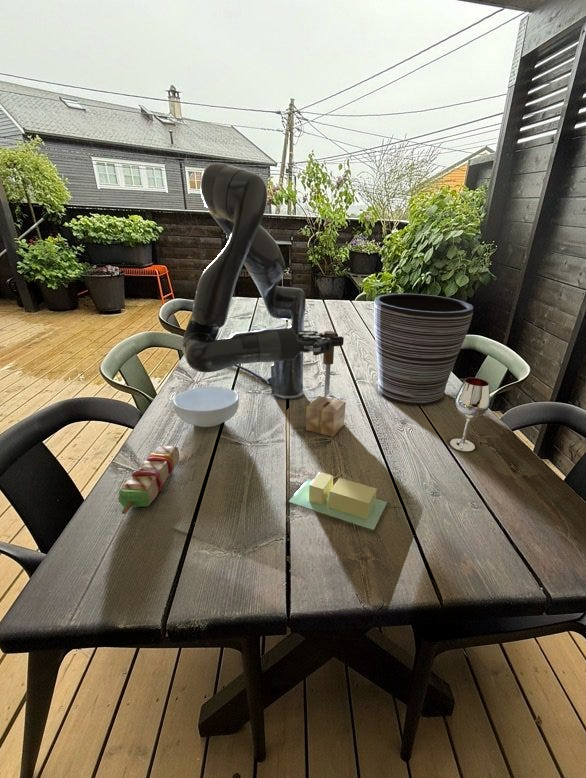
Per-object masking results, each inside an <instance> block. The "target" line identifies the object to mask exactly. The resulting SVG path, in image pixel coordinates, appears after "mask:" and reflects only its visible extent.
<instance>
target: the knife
mask: <svg viewBox="0 0 586 778" xmlns="http://www.w3.org/2000/svg"><path fill="white" fill-rule="evenodd" d="M335 333H336V332H335V331H332V330H325V331H324V332H323V335H324V337H335ZM322 355H323V356H322V357H323V358H322V363H323V365H325V371H324V394H323V395H324V396H323V397H326V398H327V396H329V394H330V386H331V385H330V384H331V365H333V364H334V357H335V346H334V347H331V351H328V352H325V353H322Z"/></svg>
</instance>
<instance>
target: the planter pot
mask: <svg viewBox="0 0 586 778" xmlns="http://www.w3.org/2000/svg"><path fill="white" fill-rule="evenodd" d="M474 309H475V308H474V306H473V305H472V304H471V303H469V302H466V301H464V300H459V299H456V298H451V297H446V296H439V295H431V294H421V293H386V294H381V295H378V296H376V297H375V298H374V301H373V328H374V329H373V330H374V341H375V352H376V362H377V374H378V375H377V376H378V377H377V379H378V380H377V392H378V393H379V395H380V396H382V397H383V398H385V399H387V400H389V401H392V402H394V403H397V404H402V405H408V406H420V407H421V406H431V405H435V404H438V403H440V402H441V401H442V400H444V397H445V391H446V387H447V384H448V381H449V378H450V376H451V373H452V370H453V368H454V366H455V363H456V361H457V359H458V356H459V354H460V352H461V349H462V346H463V345H464V341H465V339H466V336H467V334H468V331H469V328H470V325H471V323H472V318H473V314H474V311H475V310H474Z"/></svg>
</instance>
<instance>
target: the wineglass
mask: <svg viewBox="0 0 586 778" xmlns="http://www.w3.org/2000/svg"><path fill="white" fill-rule="evenodd" d="M490 400H491V396H490V383H489V381H487V380H485V379H483V378H479V377H467V378H465V379H463V382H462V383H461V385H460V387H459V390H458V392H457V394H456V396H455V399H454V406H455V408H456V411H458V412H459V414H460V415H461V416H462V417H463V418H464V420H465V425H464V428H463V433H462V437H461V438H453V439H450V440H449V445H450V446H451V448H453V449H455V450H457V451H459V452H466V453H469V452H472V451H474V450H475V448H476V446H475V444H474V443H473V442H471V441H470V440H468V439H466V438H467V434H468V429H469V425H470V422H471V421H473V420H475V419H478V418H480V417H481V416H483V415H485V414H486V413H487V412H488V410H489V408H490V402H491V401H490Z"/></svg>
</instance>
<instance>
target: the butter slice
mask: <svg viewBox="0 0 586 778" xmlns="http://www.w3.org/2000/svg"><path fill="white" fill-rule="evenodd" d="M333 486H334V475H332V474H329V473H325V472H321V471H320V472H318V474H316V477H314V478H313V481H312V482H311V484H310V485H309V501H310V502H313V503H317V504H320V505H323V504H324V502H325V501H326V500H327V498H328V497H329V495H330V490H331V489H332V488H333Z"/></svg>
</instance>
